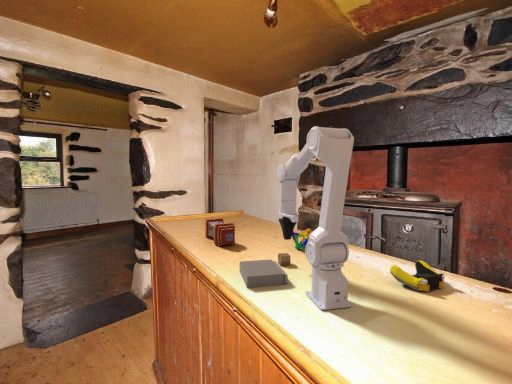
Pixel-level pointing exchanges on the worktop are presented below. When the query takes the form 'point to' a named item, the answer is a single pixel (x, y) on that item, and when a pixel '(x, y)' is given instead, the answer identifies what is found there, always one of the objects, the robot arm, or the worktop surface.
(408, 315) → the worktop surface
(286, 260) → the walnut block
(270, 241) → the worktop surface
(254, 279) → the box
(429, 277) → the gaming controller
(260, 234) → the worktop surface
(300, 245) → the decorative model
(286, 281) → the tray
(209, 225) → the lantern
